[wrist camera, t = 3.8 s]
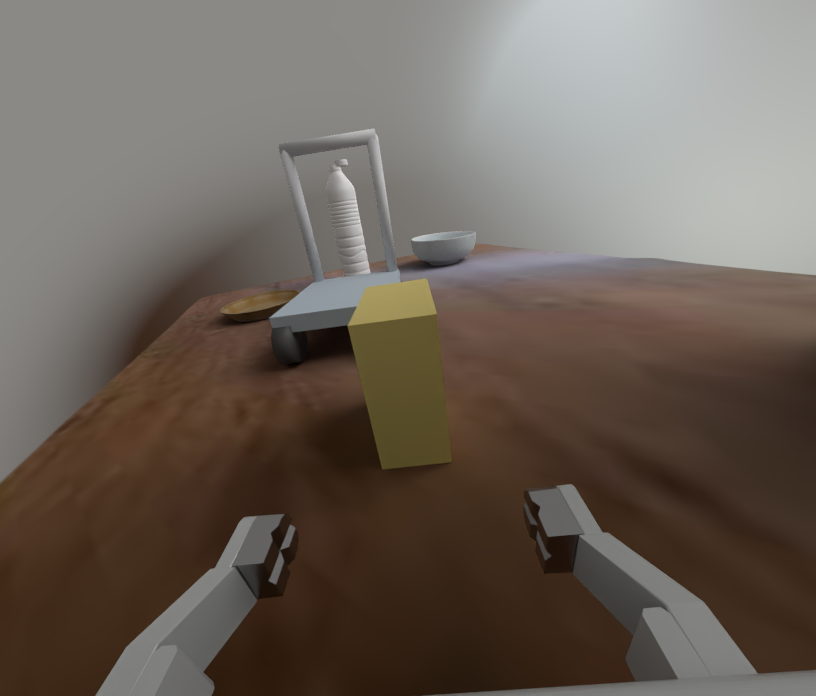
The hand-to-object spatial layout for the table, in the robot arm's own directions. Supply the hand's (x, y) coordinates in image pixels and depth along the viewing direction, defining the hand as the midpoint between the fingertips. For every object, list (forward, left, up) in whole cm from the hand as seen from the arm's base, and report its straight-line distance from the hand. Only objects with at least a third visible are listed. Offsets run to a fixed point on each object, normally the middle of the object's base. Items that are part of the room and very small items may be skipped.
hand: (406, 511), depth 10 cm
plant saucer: (+29, -50, -6) cm, 58 cm away
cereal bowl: (-10, -76, -6) cm, 77 cm away
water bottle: (+12, -66, -6) cm, 67 cm away
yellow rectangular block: (0, -11, -6) cm, 12 cm away
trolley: (+8, -33, -6) cm, 35 cm away
